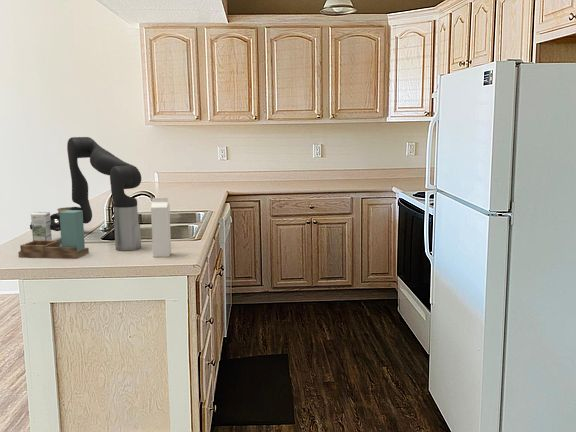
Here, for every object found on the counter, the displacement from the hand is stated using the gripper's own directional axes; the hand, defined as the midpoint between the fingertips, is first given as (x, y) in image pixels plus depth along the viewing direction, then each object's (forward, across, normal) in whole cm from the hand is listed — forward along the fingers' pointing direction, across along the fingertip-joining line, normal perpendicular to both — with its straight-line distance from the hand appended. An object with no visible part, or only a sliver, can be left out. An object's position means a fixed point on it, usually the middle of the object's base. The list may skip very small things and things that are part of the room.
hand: (41, 227), depth 232 cm
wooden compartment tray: (+12, +12, +8) cm, 18 cm away
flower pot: (-51, -16, +9) cm, 55 cm away
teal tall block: (+12, +20, +6) cm, 24 cm away
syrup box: (0, 0, +9) cm, 9 cm away
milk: (+7, +53, +9) cm, 54 cm away
